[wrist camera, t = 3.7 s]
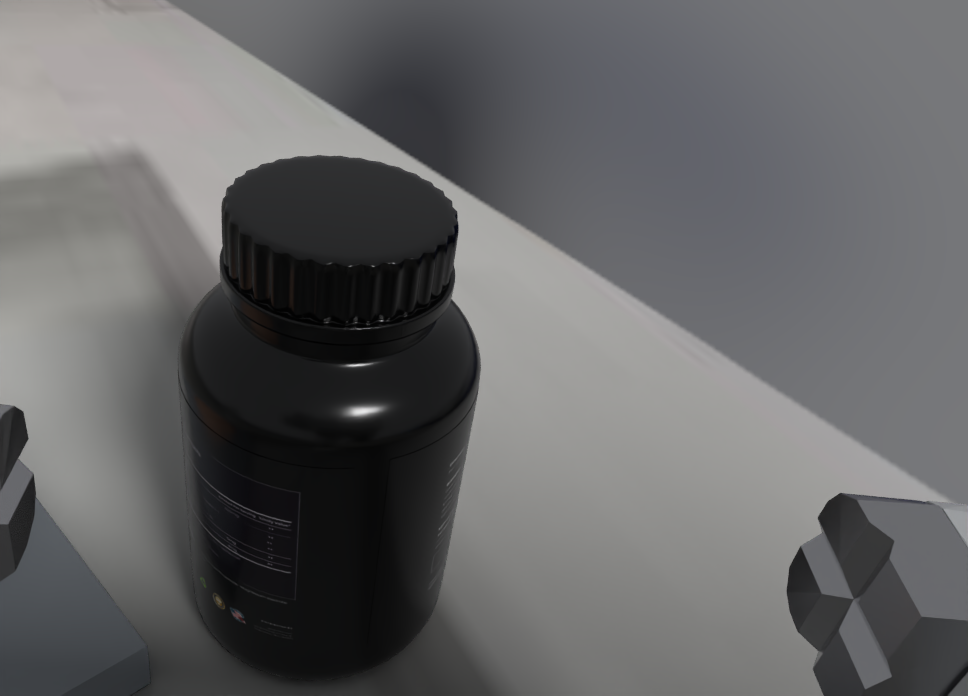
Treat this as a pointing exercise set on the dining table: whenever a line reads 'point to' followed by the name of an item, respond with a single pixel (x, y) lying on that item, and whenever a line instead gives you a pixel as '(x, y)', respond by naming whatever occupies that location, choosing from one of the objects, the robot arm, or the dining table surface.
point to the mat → (64, 625)
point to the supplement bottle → (326, 415)
